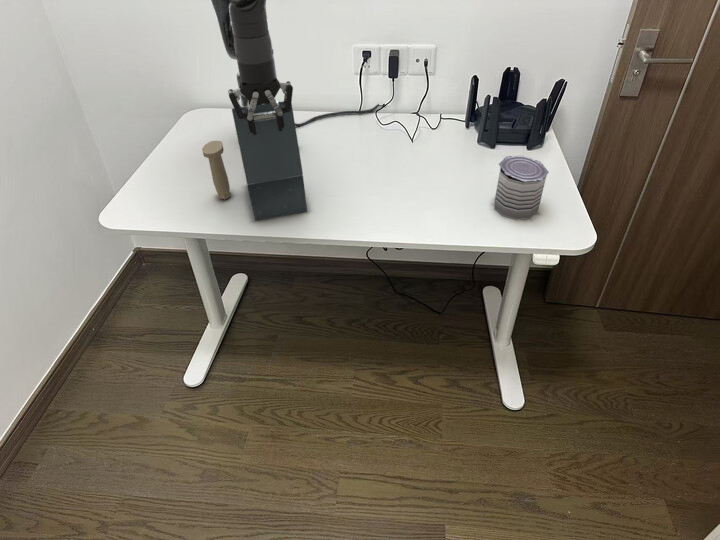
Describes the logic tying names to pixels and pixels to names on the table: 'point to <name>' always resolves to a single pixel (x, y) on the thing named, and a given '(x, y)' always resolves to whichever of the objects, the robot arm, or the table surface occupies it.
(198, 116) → the table surface
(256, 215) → the bin
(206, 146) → the handle
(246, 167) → the bin lid
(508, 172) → the can
